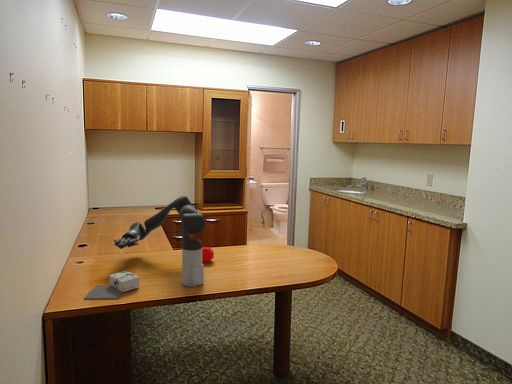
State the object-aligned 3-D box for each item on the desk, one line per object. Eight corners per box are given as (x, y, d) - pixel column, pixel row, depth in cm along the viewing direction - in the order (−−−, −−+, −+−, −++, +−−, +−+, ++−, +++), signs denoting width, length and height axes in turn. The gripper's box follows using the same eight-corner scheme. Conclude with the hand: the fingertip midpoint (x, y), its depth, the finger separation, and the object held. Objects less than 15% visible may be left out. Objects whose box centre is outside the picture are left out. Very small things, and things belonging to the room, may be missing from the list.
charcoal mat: (127, 286, 168) (127, 285, 168) (117, 299, 155) (117, 297, 155) (96, 286, 167) (96, 285, 167) (83, 299, 154) (83, 298, 154)
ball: (214, 260, 208) (214, 246, 207) (209, 264, 200) (210, 250, 199) (201, 258, 209) (201, 245, 208) (196, 263, 202) (196, 249, 201)
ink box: (126, 269, 174) (140, 276, 166) (126, 279, 174) (140, 287, 167) (108, 274, 167) (122, 282, 159) (109, 285, 168) (122, 292, 160)
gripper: (143, 245, 199) (134, 254, 182) (118, 245, 198) (107, 254, 181) (143, 231, 198) (134, 239, 181) (117, 231, 197) (106, 239, 180)
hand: (120, 246), depth 181 cm, fingers closed
